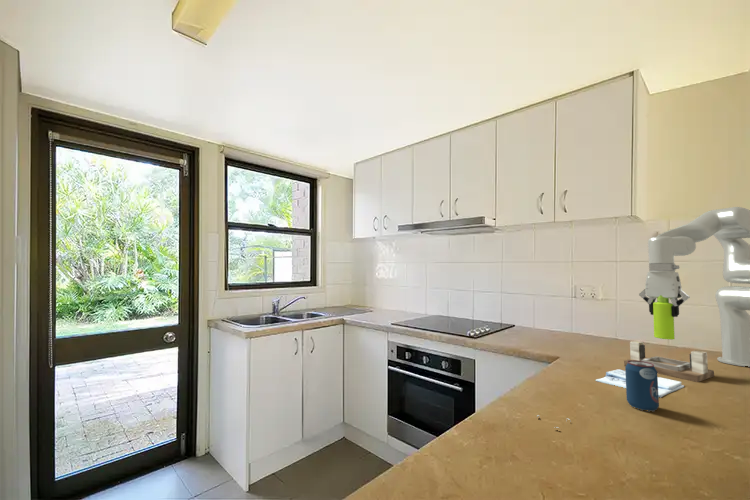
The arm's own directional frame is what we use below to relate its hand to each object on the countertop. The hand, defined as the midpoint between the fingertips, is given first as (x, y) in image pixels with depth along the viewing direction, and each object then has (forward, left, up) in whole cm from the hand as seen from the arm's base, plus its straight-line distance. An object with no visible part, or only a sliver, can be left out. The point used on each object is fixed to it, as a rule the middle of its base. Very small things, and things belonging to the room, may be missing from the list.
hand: (663, 315), depth 127 cm
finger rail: (0, 0, -21) cm, 21 cm away
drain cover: (+80, +8, -21) cm, 83 cm away
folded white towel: (+27, +2, -22) cm, 35 cm away
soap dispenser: (0, 0, -9) cm, 9 cm away
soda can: (+49, +13, -21) cm, 55 cm away
